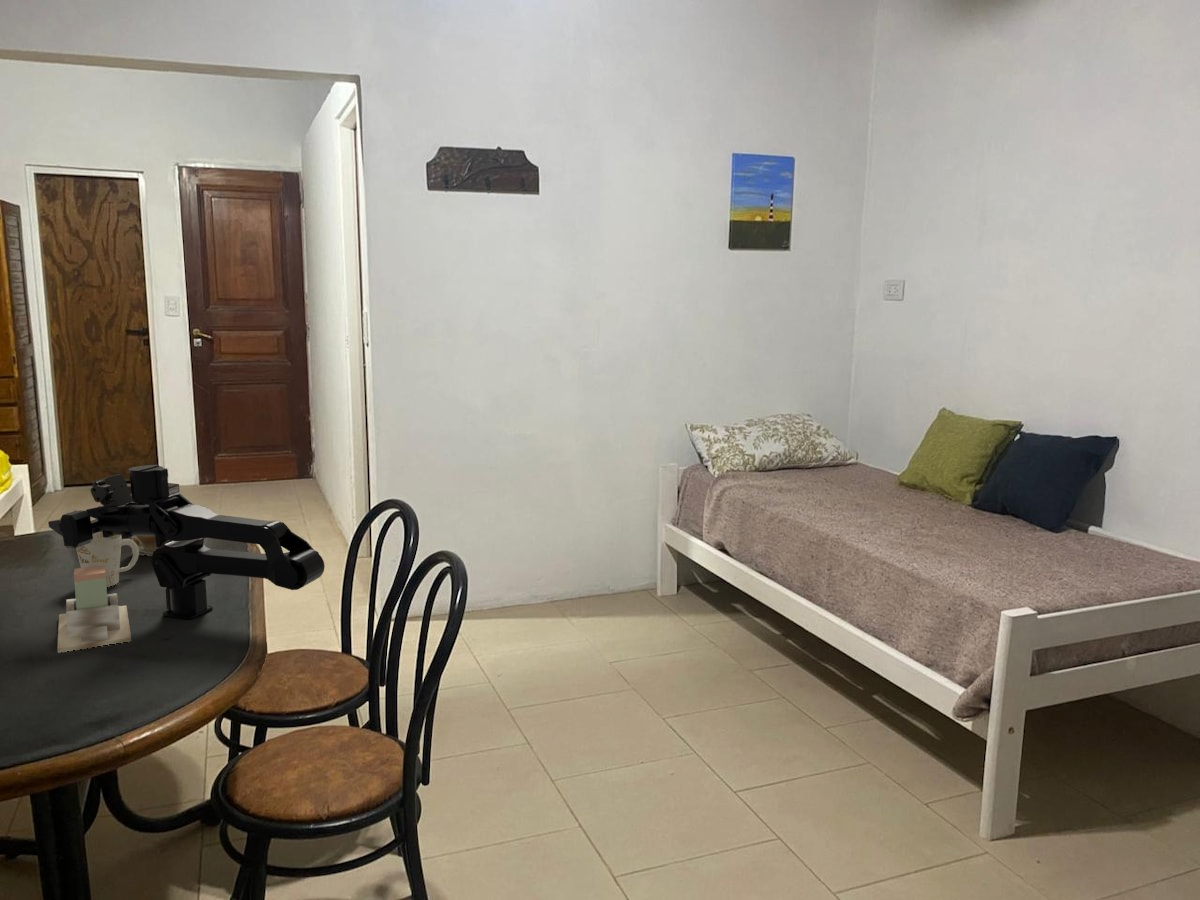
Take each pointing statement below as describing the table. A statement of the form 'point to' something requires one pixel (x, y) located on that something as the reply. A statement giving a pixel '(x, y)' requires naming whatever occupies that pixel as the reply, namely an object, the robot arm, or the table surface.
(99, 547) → the mug
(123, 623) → the card holder
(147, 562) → the table surface
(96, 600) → the block
